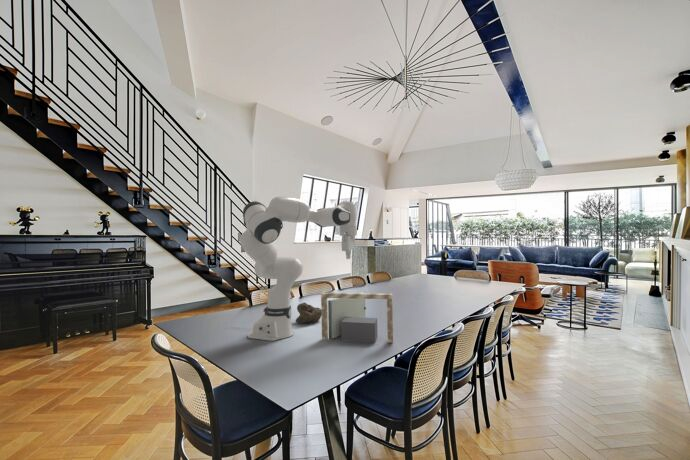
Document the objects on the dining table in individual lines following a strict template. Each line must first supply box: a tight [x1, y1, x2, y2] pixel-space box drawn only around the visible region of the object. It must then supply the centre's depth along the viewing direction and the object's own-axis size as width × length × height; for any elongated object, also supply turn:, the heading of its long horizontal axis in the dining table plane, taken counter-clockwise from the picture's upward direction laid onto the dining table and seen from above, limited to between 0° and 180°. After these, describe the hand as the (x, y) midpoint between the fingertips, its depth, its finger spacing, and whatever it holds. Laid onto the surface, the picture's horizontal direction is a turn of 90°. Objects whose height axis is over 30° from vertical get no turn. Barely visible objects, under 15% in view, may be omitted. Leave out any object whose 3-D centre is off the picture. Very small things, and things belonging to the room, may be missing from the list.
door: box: [327, 291, 367, 340], centre depth 156 cm, size 27×3×18 cm, turn 138°
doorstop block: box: [340, 317, 378, 343], centre depth 148 cm, size 16×9×9 cm, turn 77°
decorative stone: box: [295, 302, 322, 324], centre depth 178 cm, size 16×11×15 cm
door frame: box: [320, 292, 394, 344], centre depth 144 cm, size 33×2×22 cm, turn 80°
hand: (348, 258), depth 161 cm, fingers closed
